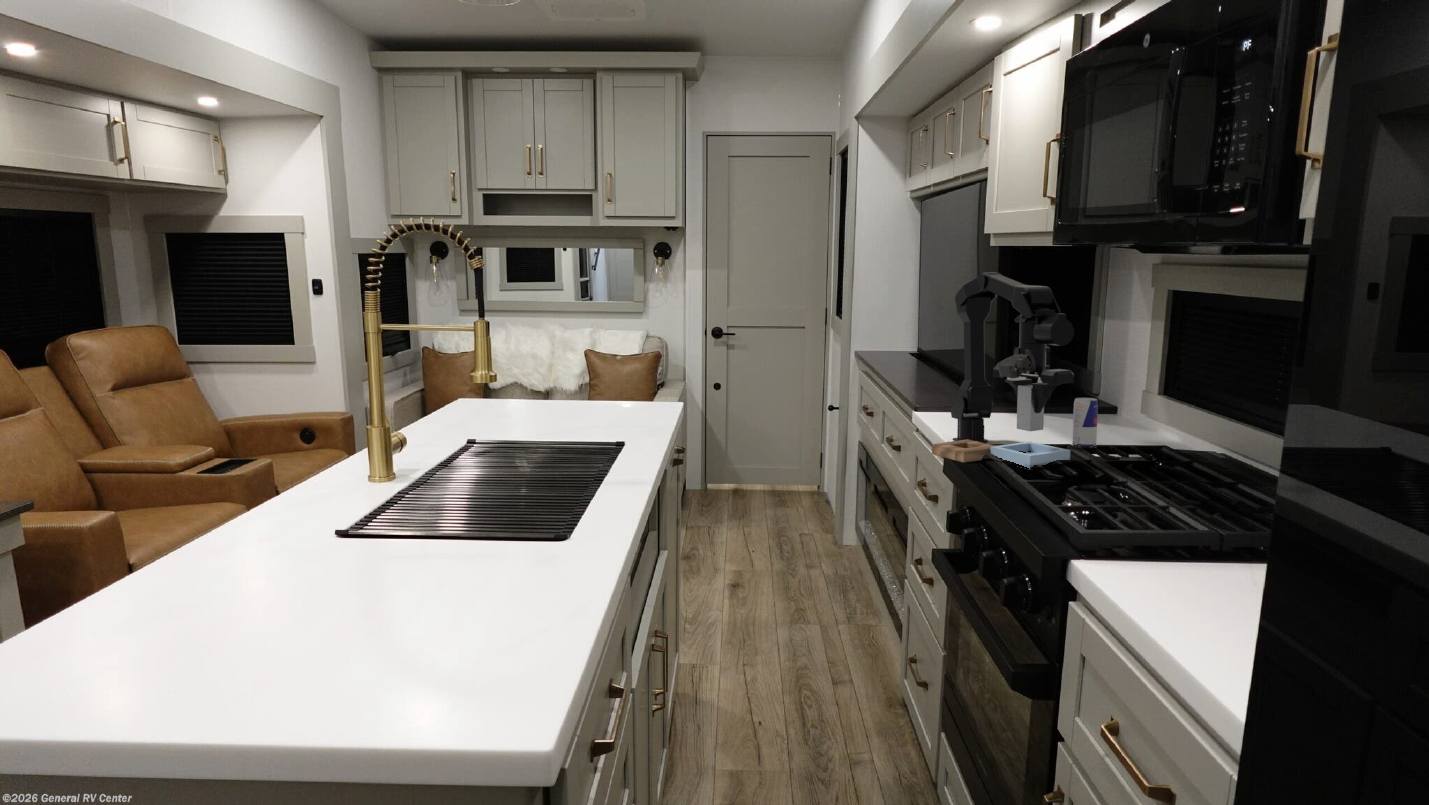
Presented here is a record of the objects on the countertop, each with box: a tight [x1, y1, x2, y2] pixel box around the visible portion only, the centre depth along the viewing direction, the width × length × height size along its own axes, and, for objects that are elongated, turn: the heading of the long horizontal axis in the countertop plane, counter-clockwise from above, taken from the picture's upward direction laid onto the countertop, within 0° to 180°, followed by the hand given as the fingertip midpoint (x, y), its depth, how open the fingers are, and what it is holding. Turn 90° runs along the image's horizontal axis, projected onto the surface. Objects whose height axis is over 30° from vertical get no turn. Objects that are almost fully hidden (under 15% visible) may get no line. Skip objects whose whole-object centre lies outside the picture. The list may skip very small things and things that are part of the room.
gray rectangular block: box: [1016, 384, 1045, 432], centre depth 179 cm, size 4×4×10 cm
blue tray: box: [990, 441, 1071, 470], centre depth 180 cm, size 12×12×3 cm
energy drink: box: [1071, 397, 1099, 447], centre depth 193 cm, size 5×5×12 cm
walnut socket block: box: [931, 439, 995, 463], centre depth 188 cm, size 11×11×2 cm
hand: (1030, 411), depth 179 cm, fingers closed on gray rectangular block, 4 cm apart
